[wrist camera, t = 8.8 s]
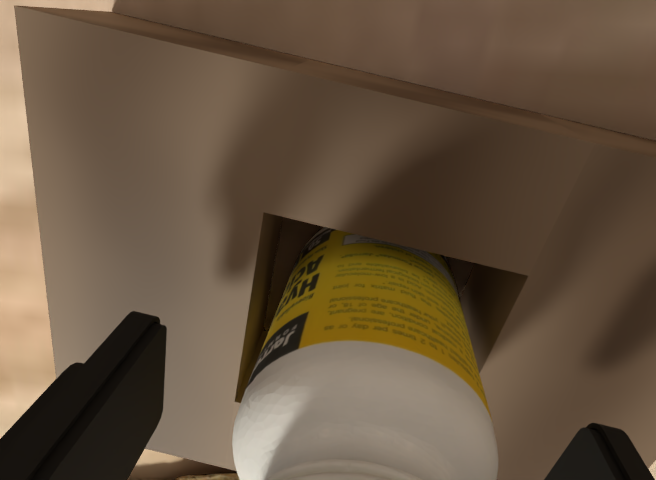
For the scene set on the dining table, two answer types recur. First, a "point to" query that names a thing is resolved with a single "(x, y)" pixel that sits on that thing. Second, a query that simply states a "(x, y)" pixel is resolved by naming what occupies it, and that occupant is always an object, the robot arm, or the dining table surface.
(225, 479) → the stone tool
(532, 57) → the dining table surface
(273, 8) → the dining table surface
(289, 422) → the supplement bottle
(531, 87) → the dining table surface
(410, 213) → the socket block
